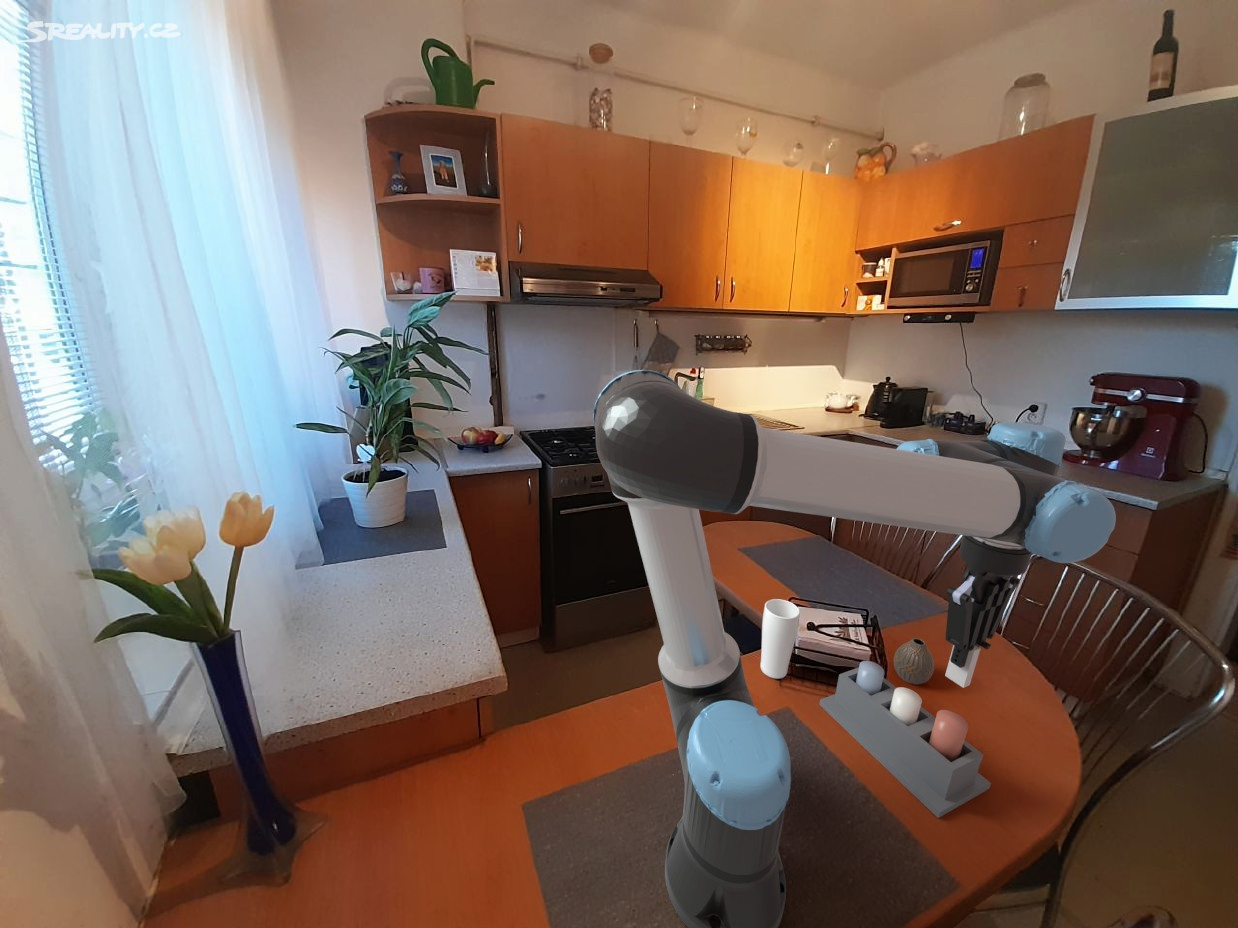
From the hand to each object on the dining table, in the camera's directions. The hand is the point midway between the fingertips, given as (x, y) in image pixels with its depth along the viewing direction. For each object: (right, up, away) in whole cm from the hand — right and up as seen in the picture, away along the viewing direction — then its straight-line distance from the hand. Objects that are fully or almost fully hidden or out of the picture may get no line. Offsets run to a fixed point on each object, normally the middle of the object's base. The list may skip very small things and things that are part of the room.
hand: (957, 680), depth 72 cm
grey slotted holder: (-3, -16, +11) cm, 19 cm away
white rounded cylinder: (-3, -13, +10) cm, 17 cm away
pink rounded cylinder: (0, -13, +3) cm, 14 cm away
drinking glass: (-19, -10, +27) cm, 35 cm away
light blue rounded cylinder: (-6, -11, +16) cm, 20 cm away
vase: (+9, -11, +26) cm, 30 cm away
